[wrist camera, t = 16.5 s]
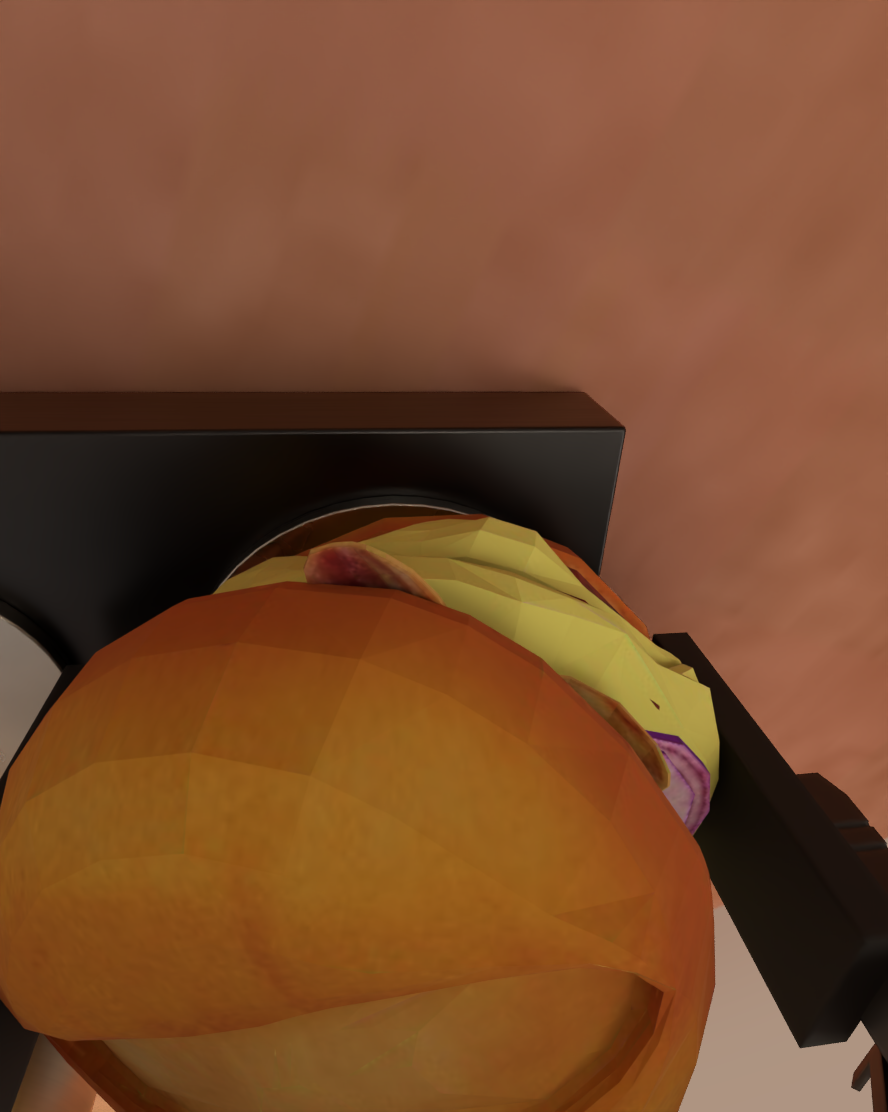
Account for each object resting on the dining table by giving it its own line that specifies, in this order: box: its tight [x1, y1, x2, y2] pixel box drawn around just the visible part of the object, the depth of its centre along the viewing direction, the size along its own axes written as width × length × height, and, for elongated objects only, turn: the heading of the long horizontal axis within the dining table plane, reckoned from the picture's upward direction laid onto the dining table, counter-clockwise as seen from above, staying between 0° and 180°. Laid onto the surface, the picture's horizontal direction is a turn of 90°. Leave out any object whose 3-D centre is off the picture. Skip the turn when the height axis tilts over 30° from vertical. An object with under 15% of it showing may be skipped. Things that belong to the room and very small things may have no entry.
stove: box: [0, 392, 626, 665], centre depth 17 cm, size 19×19×3 cm
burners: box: [0, 496, 493, 778], centre depth 14 cm, size 8×17×1 cm, turn 88°
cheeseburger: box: [0, 514, 720, 1112], centre depth 11 cm, size 10×11×10 cm
